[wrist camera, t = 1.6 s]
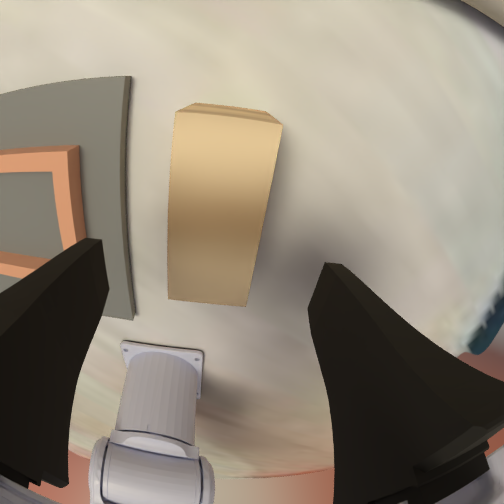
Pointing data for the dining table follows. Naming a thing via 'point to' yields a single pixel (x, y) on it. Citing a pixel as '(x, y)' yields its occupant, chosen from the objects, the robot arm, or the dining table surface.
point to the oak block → (218, 200)
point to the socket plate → (65, 179)
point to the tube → (489, 8)
